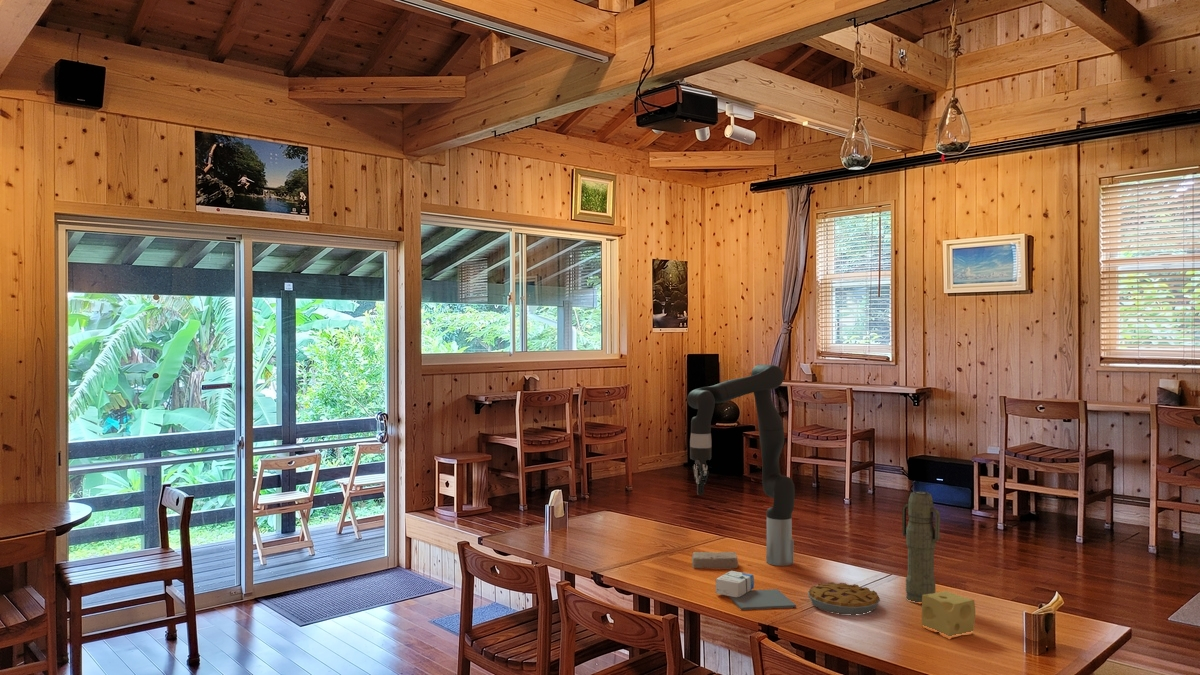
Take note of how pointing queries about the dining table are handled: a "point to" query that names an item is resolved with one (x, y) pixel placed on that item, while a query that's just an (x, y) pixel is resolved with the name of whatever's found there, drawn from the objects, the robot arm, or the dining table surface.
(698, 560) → the brick
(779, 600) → the mat
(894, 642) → the dining table surface
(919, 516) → the dark olive tall piece
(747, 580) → the ink box
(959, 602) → the cheese
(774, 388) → the robot arm
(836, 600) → the pie
